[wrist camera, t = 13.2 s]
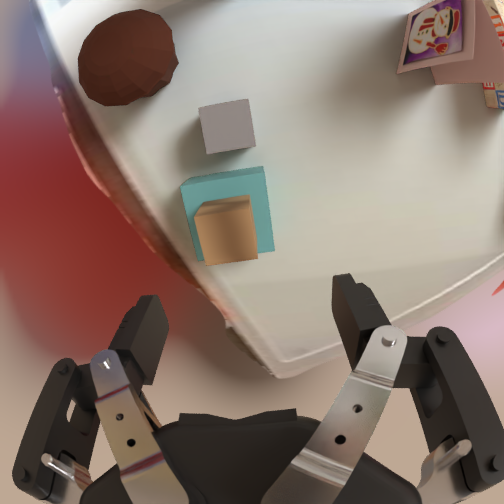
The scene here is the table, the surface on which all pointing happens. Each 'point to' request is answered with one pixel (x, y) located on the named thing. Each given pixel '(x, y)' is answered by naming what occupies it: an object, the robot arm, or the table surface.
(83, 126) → the table surface
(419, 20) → the greeting card
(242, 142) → the grey cube
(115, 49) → the muffin
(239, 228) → the walnut cube
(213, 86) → the table surface
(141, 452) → the robot arm
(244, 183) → the teal base block
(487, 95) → the stack of blocks
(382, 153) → the table surface
